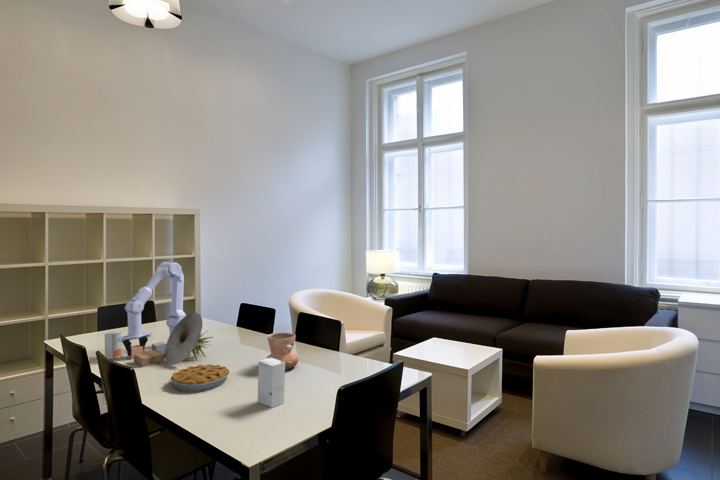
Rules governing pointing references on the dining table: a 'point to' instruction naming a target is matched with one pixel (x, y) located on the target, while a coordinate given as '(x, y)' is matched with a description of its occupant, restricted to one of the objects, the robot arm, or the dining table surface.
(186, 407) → the dining table surface
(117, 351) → the skincare box
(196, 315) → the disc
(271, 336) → the ceramic jug
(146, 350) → the tile
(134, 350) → the terracotta cube
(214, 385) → the pie
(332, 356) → the dining table surface
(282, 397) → the skincare box
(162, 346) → the slate grey cube
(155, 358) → the walnut block
